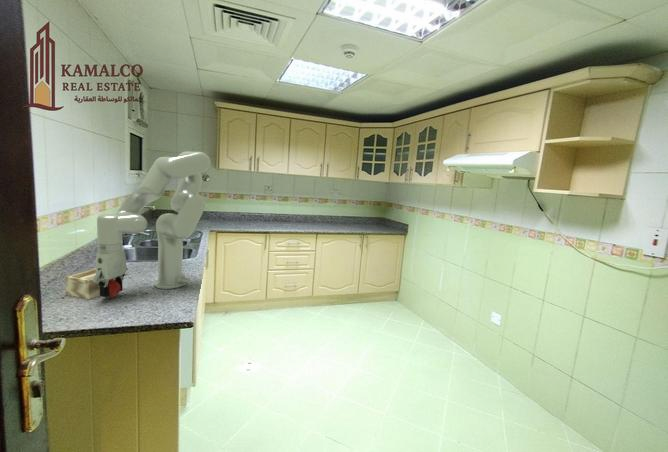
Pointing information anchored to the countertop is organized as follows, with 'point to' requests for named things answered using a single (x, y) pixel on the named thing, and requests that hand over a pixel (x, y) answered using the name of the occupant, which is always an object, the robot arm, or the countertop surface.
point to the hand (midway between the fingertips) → (111, 293)
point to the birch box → (82, 285)
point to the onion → (113, 288)
